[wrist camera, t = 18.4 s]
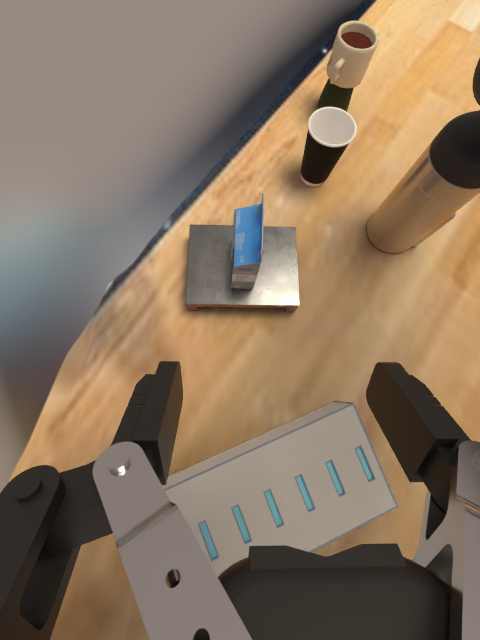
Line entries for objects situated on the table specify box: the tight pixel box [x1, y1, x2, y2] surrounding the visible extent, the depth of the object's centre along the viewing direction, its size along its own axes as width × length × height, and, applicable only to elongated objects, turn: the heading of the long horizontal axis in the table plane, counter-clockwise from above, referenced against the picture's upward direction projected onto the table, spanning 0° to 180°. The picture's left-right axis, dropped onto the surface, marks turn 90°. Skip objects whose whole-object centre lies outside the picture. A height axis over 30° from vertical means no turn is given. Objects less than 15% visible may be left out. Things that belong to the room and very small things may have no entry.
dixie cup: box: [301, 107, 357, 187], centre depth 50 cm, size 8×8×11 cm
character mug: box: [318, 21, 379, 112], centre depth 54 cm, size 11×7×13 cm, turn 141°
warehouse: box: [162, 401, 398, 577], centre depth 39 cm, size 30×14×8 cm, turn 112°
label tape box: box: [231, 192, 264, 289], centre depth 40 cm, size 9×4×12 cm, turn 179°
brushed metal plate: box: [186, 225, 299, 312], centre depth 48 cm, size 18×14×4 cm
